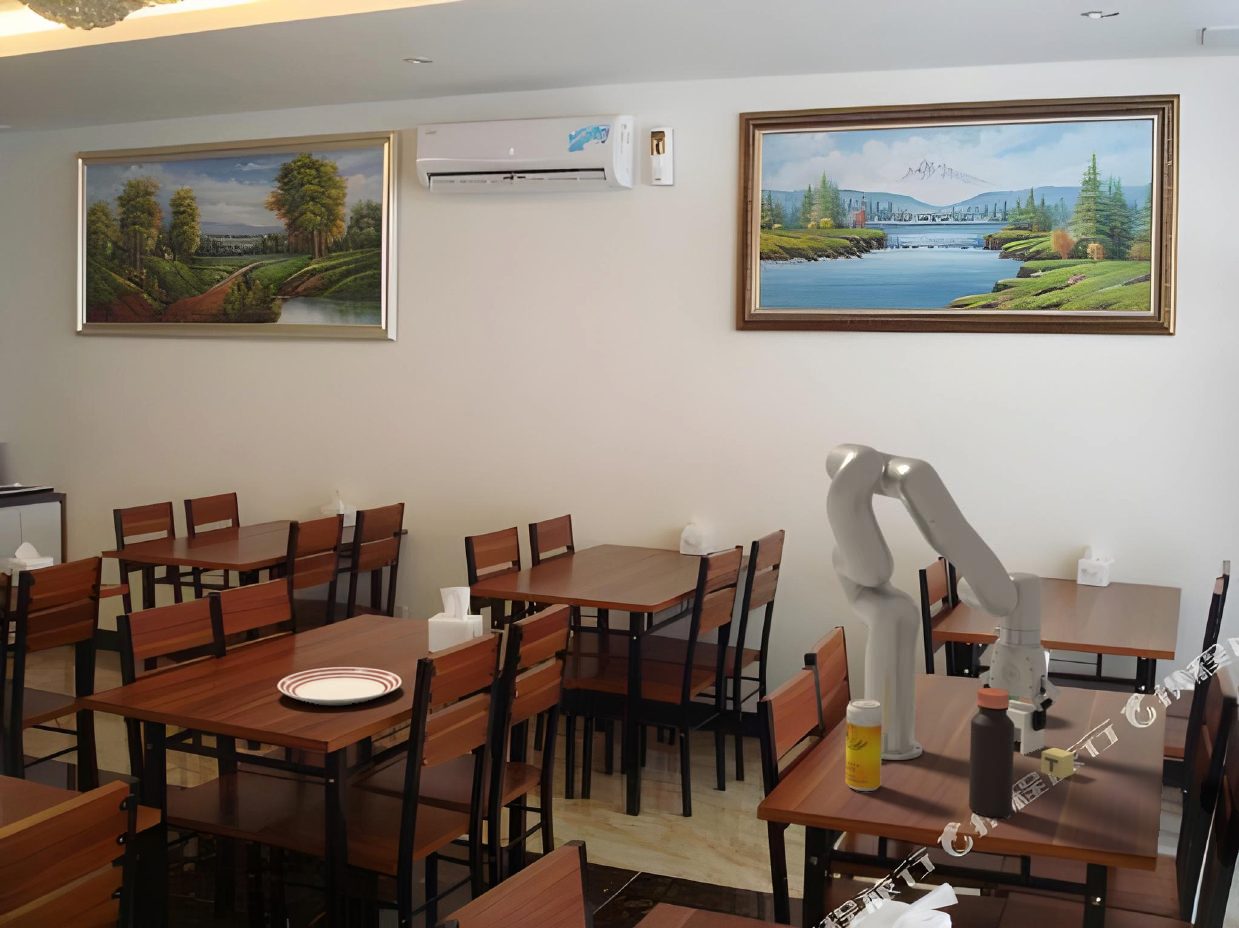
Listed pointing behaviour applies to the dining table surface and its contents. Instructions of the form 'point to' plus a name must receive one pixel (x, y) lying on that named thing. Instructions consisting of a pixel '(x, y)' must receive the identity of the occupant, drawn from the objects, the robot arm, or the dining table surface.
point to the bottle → (991, 755)
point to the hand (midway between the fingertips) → (1017, 723)
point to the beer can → (863, 744)
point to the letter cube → (1057, 762)
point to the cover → (1025, 726)
